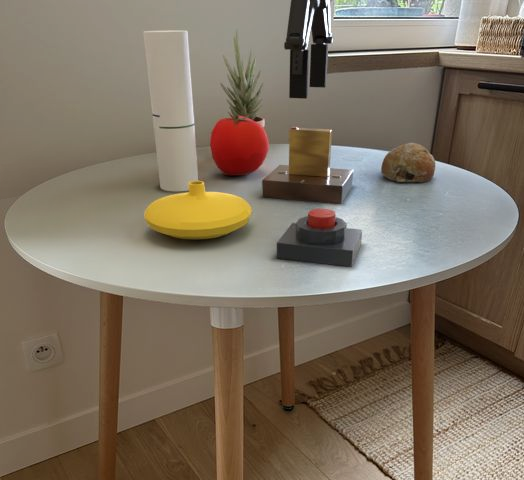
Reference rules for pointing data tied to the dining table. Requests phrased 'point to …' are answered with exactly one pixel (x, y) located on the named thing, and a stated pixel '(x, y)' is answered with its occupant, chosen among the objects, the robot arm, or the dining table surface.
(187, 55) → the cylindrical container
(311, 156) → the upright wooden block
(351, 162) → the dining table surface
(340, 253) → the button block
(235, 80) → the potted plant
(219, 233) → the vase
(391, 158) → the bread roll
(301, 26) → the robot arm
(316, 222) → the red button
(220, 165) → the tomato
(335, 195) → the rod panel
